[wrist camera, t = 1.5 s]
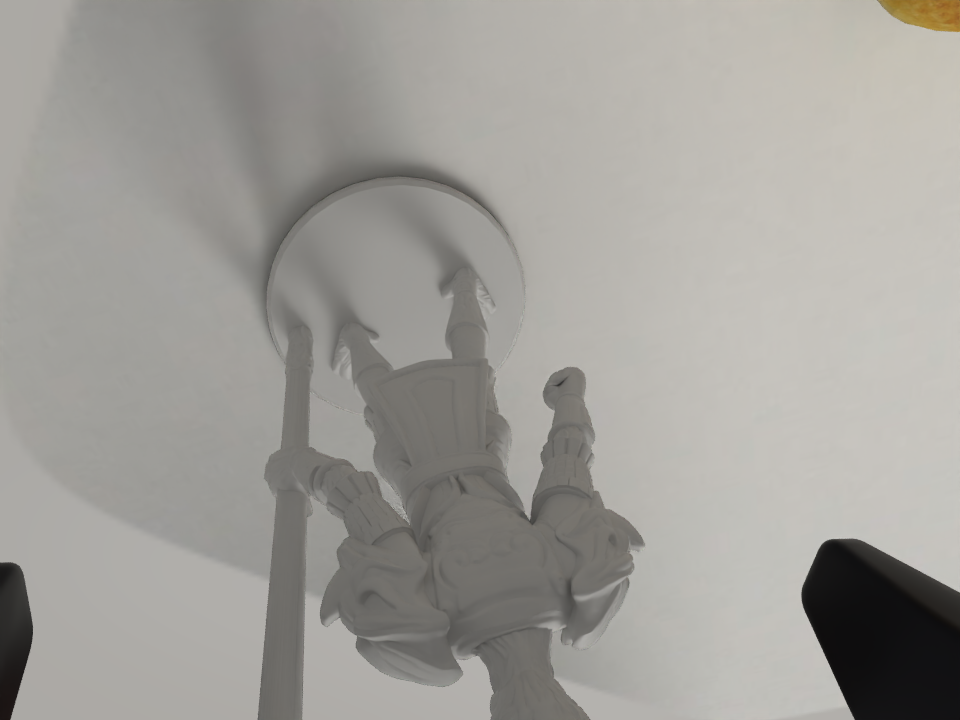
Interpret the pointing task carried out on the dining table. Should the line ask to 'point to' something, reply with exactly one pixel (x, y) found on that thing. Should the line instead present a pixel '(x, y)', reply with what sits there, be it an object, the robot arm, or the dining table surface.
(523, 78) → the dining table surface
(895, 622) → the robot arm
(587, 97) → the dining table surface
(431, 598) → the figurine
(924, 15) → the bread roll
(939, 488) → the dining table surface
